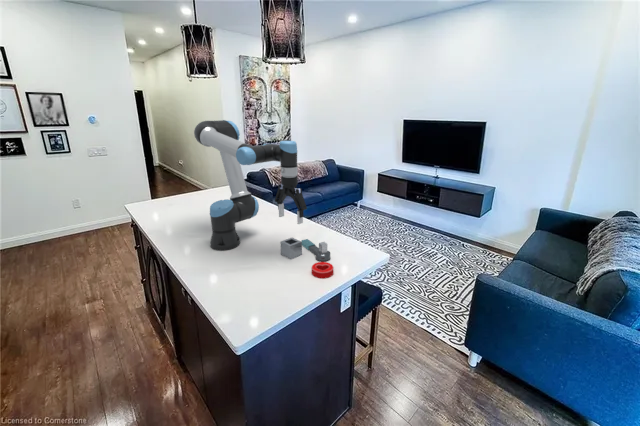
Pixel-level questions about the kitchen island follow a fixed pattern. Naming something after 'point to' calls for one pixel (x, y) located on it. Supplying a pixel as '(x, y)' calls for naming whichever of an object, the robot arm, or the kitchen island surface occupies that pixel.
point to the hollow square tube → (291, 248)
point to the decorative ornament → (322, 270)
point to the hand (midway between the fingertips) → (290, 219)
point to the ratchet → (317, 250)
